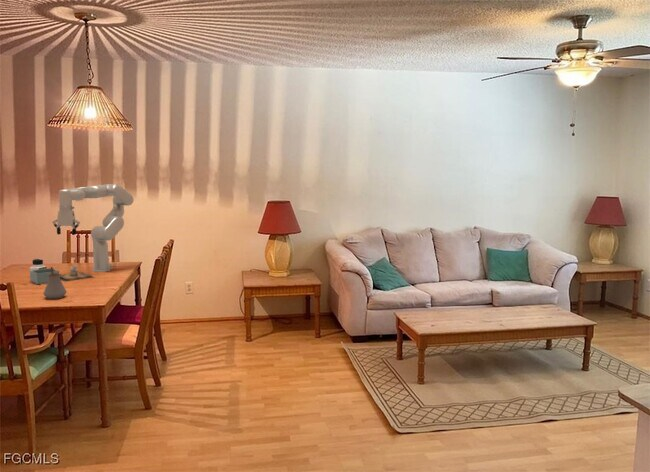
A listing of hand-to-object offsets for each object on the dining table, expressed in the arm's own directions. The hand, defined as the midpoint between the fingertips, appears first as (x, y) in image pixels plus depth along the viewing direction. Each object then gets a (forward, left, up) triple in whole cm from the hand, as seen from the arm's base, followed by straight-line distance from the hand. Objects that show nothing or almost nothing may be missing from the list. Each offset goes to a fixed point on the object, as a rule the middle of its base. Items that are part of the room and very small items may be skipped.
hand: (66, 234), depth 349 cm
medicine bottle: (+15, -12, -29) cm, 34 cm away
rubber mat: (-1, +6, -28) cm, 29 cm away
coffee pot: (+26, +48, -29) cm, 62 cm away
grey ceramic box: (+17, +6, -28) cm, 33 cm away
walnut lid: (-1, +6, -28) cm, 29 cm away
